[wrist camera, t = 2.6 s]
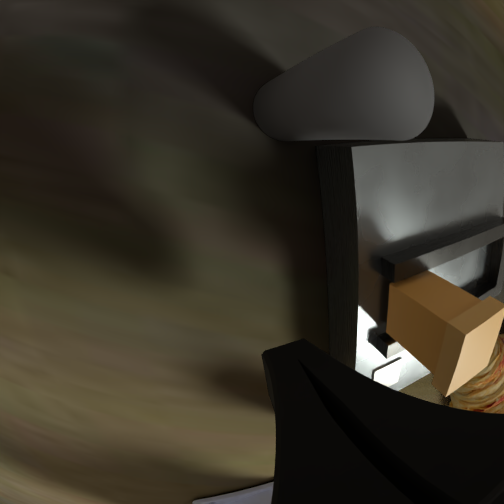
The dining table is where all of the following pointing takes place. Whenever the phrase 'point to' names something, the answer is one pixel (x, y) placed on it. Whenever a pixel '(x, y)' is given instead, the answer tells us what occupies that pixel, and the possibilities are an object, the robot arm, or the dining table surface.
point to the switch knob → (443, 327)
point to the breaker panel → (405, 236)
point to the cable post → (350, 92)
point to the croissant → (484, 386)
